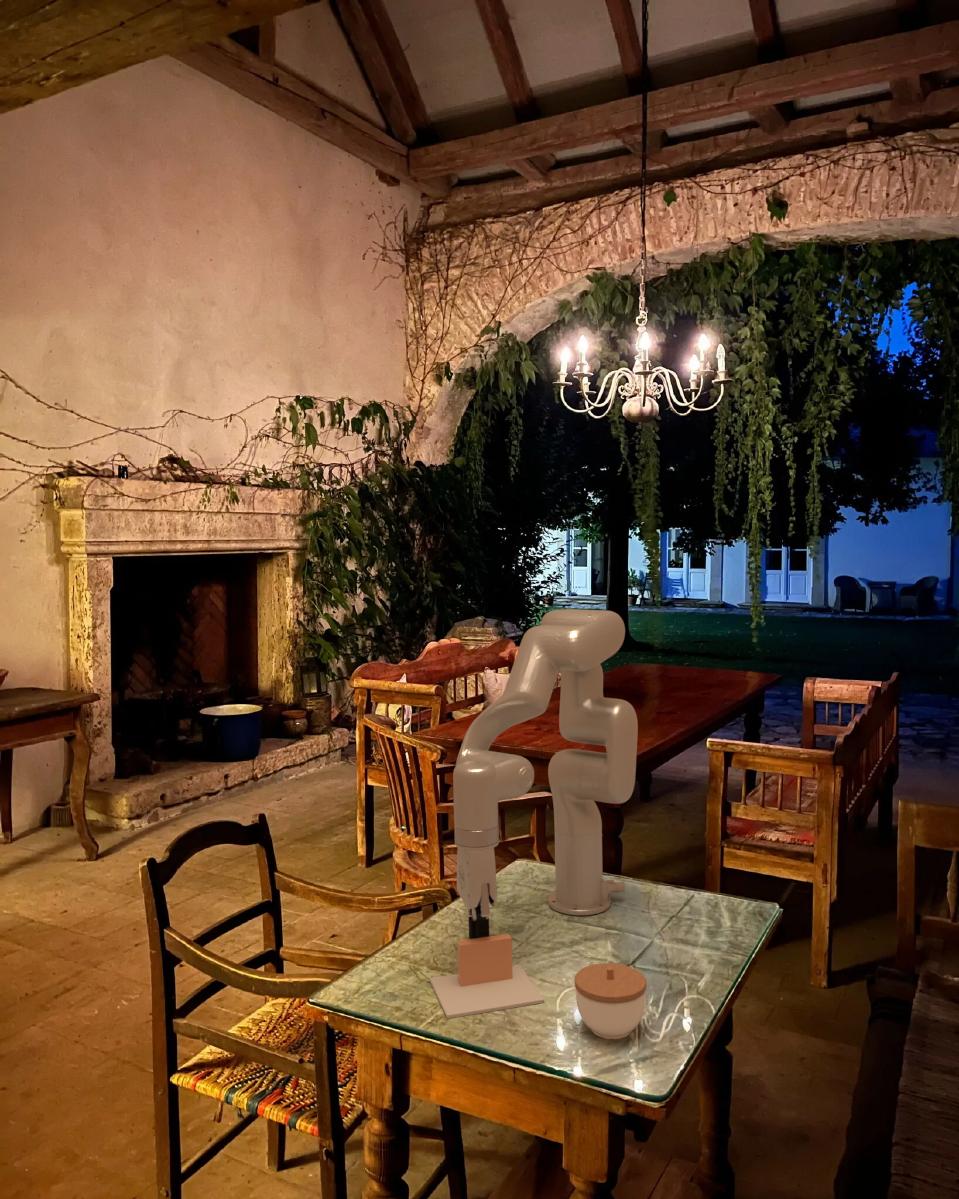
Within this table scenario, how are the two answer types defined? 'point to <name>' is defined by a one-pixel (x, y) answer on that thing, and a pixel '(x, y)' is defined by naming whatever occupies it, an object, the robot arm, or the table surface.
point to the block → (484, 959)
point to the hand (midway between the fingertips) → (479, 939)
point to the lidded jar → (610, 999)
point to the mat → (485, 994)
